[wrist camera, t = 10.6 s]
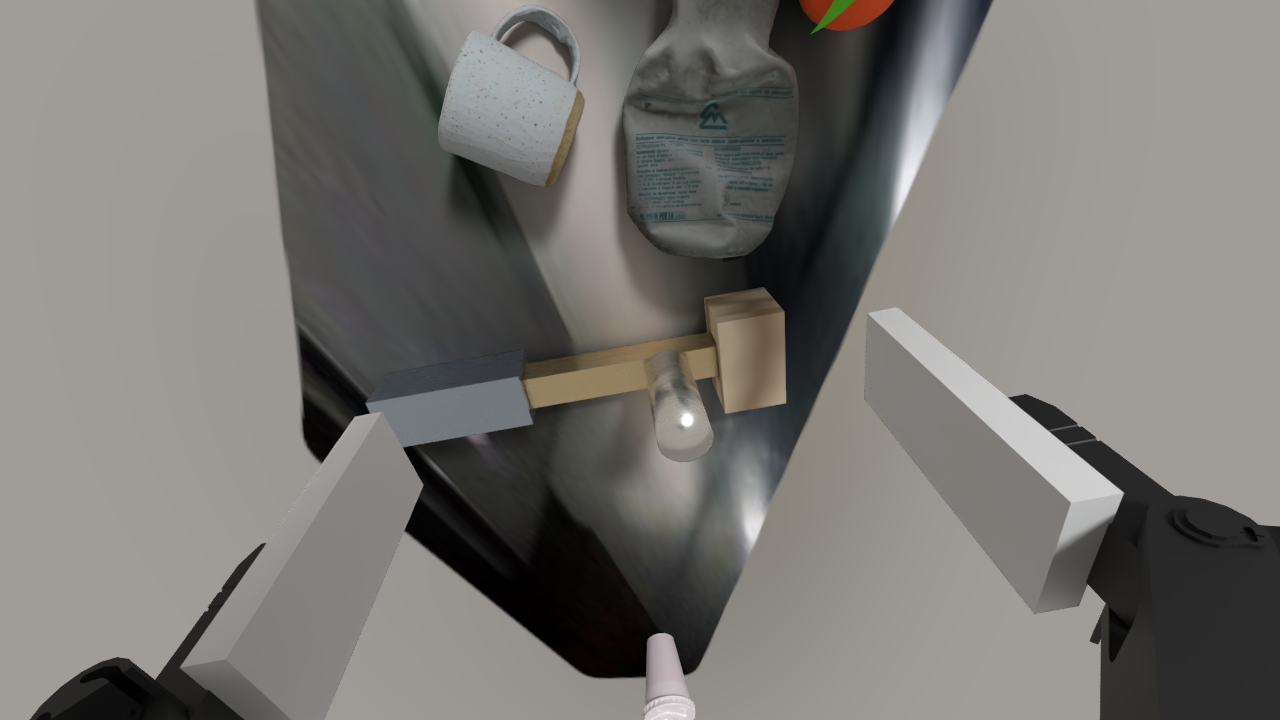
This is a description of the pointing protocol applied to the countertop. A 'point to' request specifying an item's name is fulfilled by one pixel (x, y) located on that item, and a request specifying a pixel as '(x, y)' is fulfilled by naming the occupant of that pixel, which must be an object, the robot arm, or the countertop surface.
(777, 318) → the socket block
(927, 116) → the countertop surface
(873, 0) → the clementine
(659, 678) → the smoothie
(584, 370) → the bar with upright post
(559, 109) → the ceramic mug
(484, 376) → the sleeve
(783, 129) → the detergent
